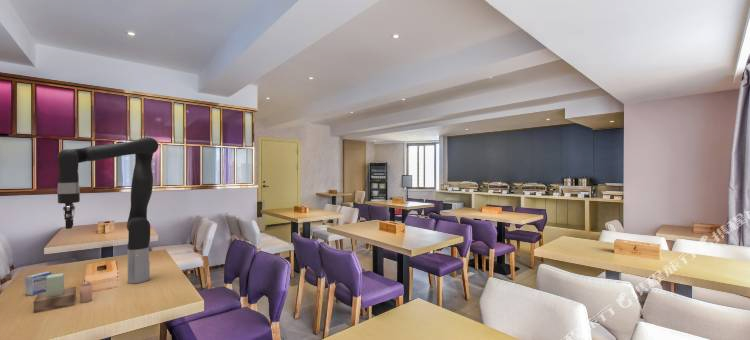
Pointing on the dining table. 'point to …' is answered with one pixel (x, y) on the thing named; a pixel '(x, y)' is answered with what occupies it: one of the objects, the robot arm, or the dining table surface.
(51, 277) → the green block
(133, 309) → the dining table surface
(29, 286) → the medicine box
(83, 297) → the terracotta shaker
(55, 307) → the walnut block
